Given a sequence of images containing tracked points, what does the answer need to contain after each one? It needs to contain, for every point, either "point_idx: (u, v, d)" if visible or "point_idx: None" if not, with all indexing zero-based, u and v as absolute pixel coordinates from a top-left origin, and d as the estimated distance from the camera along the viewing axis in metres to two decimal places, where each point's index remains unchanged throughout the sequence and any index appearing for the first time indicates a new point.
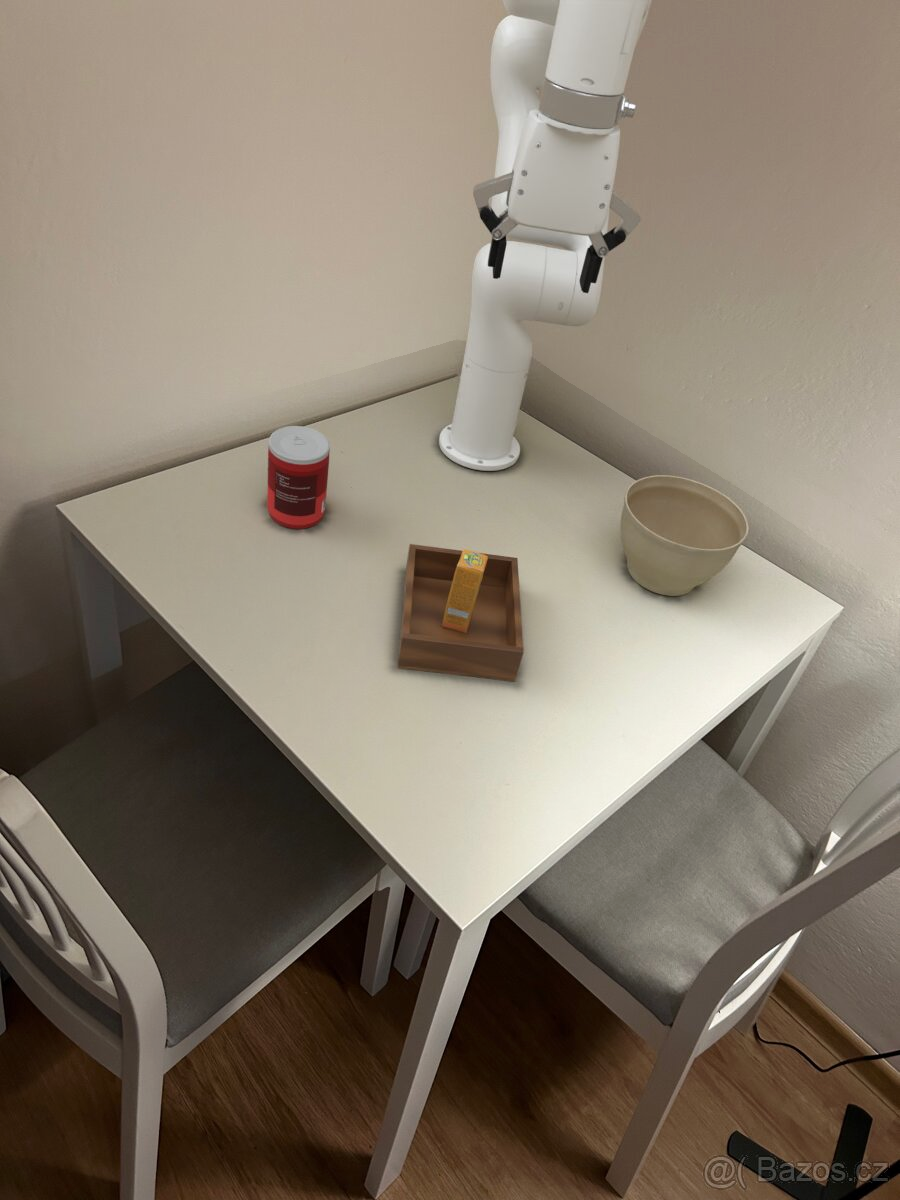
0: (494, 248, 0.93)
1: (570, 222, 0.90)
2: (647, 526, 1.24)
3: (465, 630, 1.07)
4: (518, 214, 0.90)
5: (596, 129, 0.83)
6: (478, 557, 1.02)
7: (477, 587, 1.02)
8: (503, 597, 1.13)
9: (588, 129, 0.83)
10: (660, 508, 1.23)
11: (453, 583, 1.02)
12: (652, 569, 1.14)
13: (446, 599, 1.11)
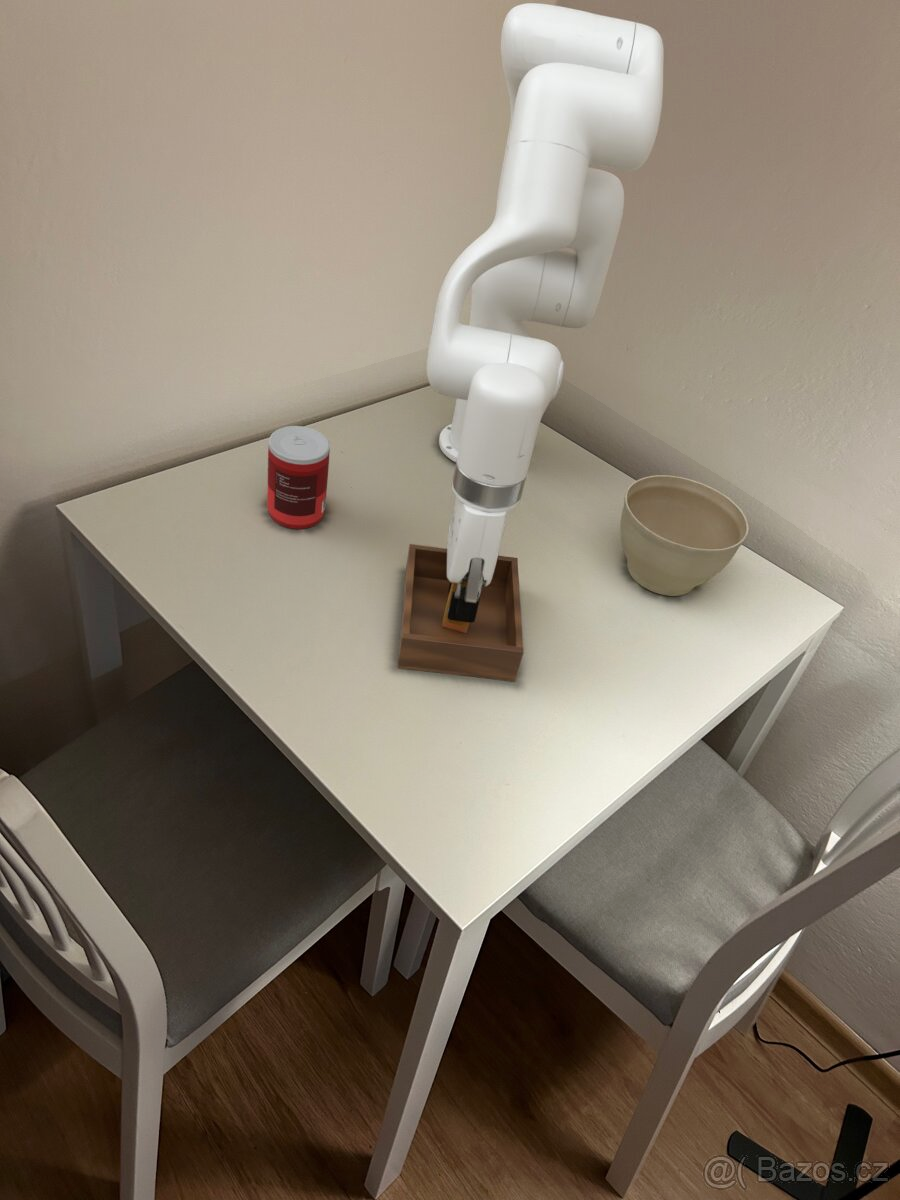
0: (471, 606, 1.03)
1: None
2: (647, 526, 1.24)
3: (465, 630, 1.07)
4: None
5: None
6: None
7: None
8: (503, 597, 1.13)
9: None
10: (660, 508, 1.23)
11: (453, 583, 1.02)
12: (652, 569, 1.14)
13: (446, 599, 1.11)
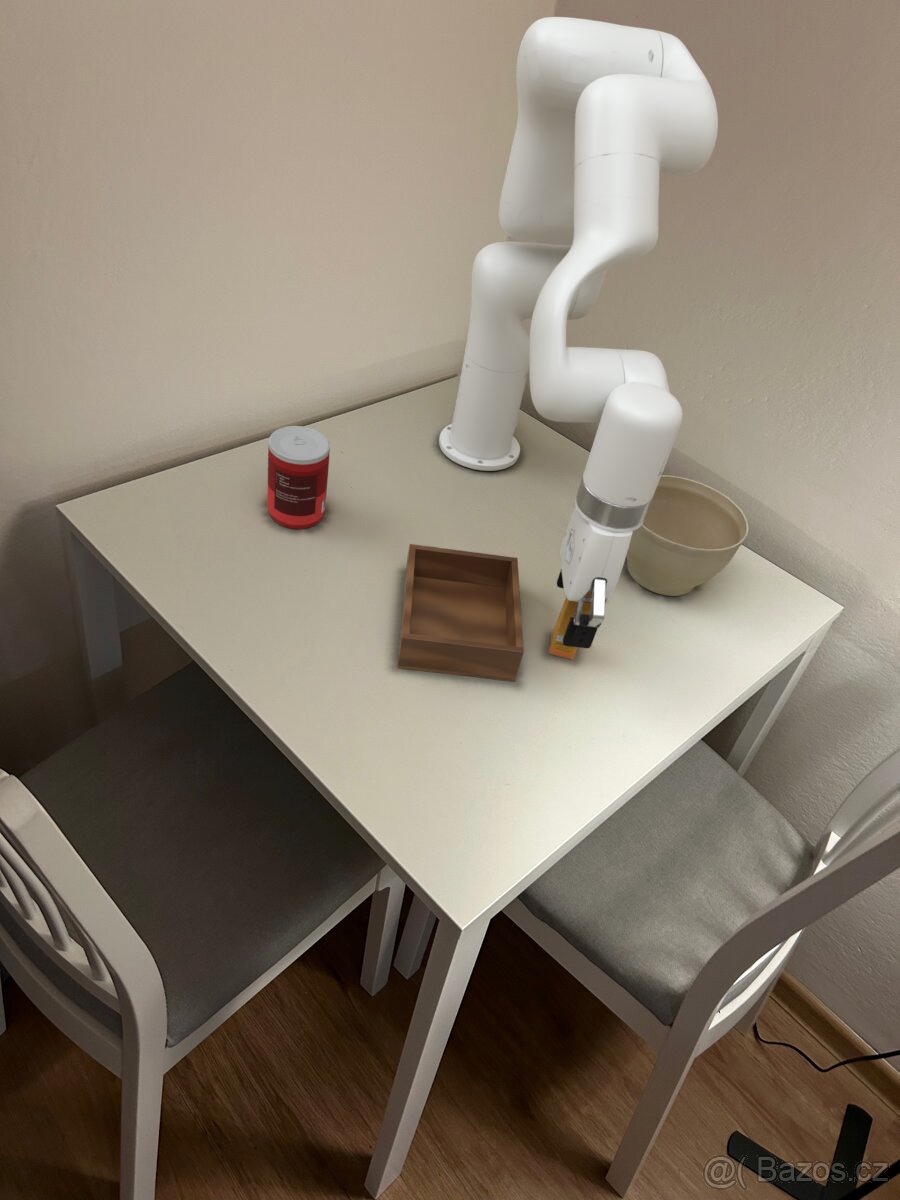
0: None
1: None
2: (647, 526, 1.24)
3: (572, 657, 1.07)
4: None
5: None
6: None
7: None
8: (503, 597, 1.13)
9: None
10: (660, 508, 1.23)
11: (565, 611, 1.02)
12: (652, 569, 1.14)
13: (446, 599, 1.11)
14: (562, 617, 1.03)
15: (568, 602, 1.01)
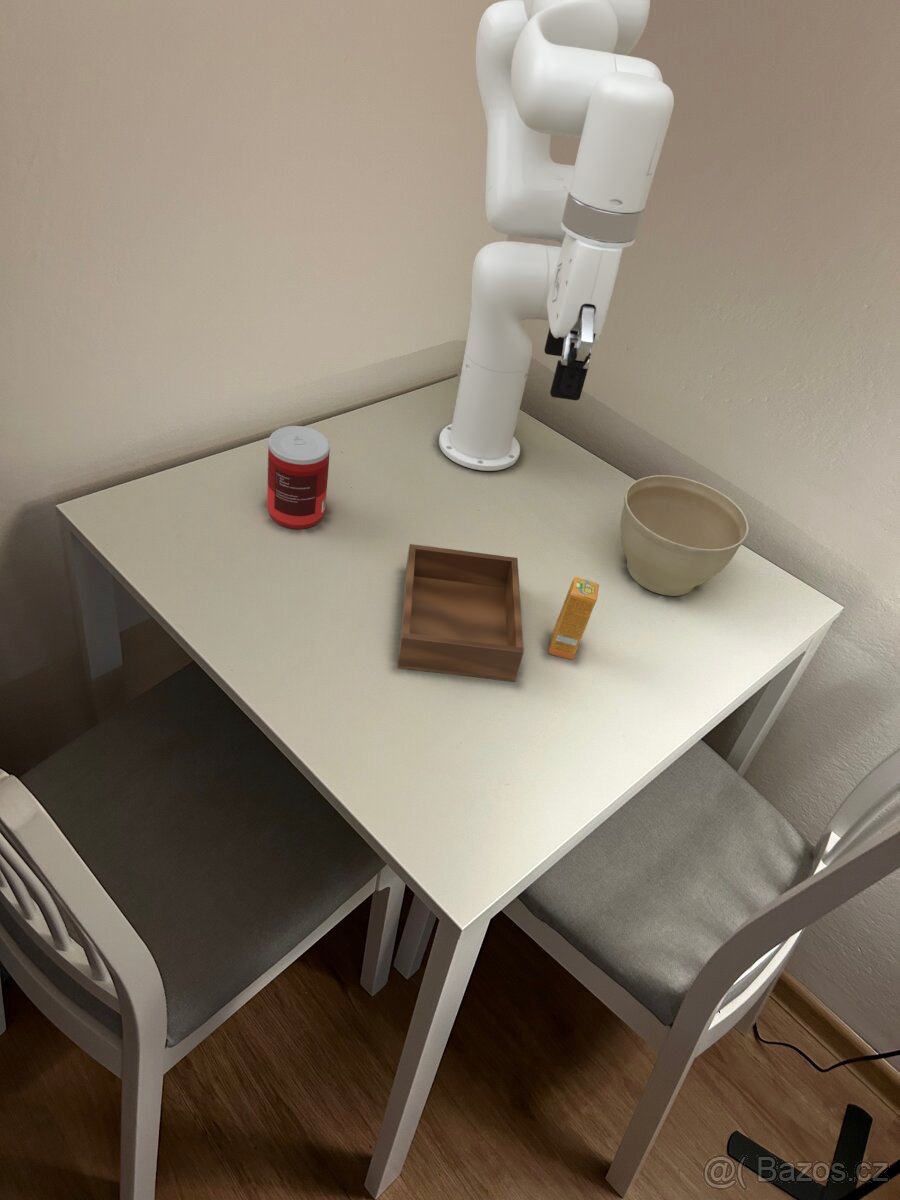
0: None
1: None
2: (647, 526, 1.24)
3: (572, 657, 1.07)
4: None
5: None
6: (590, 585, 1.02)
7: (589, 615, 1.02)
8: (503, 597, 1.13)
9: None
10: (660, 508, 1.23)
11: (565, 611, 1.02)
12: (652, 569, 1.14)
13: (446, 599, 1.11)
14: (562, 617, 1.03)
15: (568, 602, 1.01)
